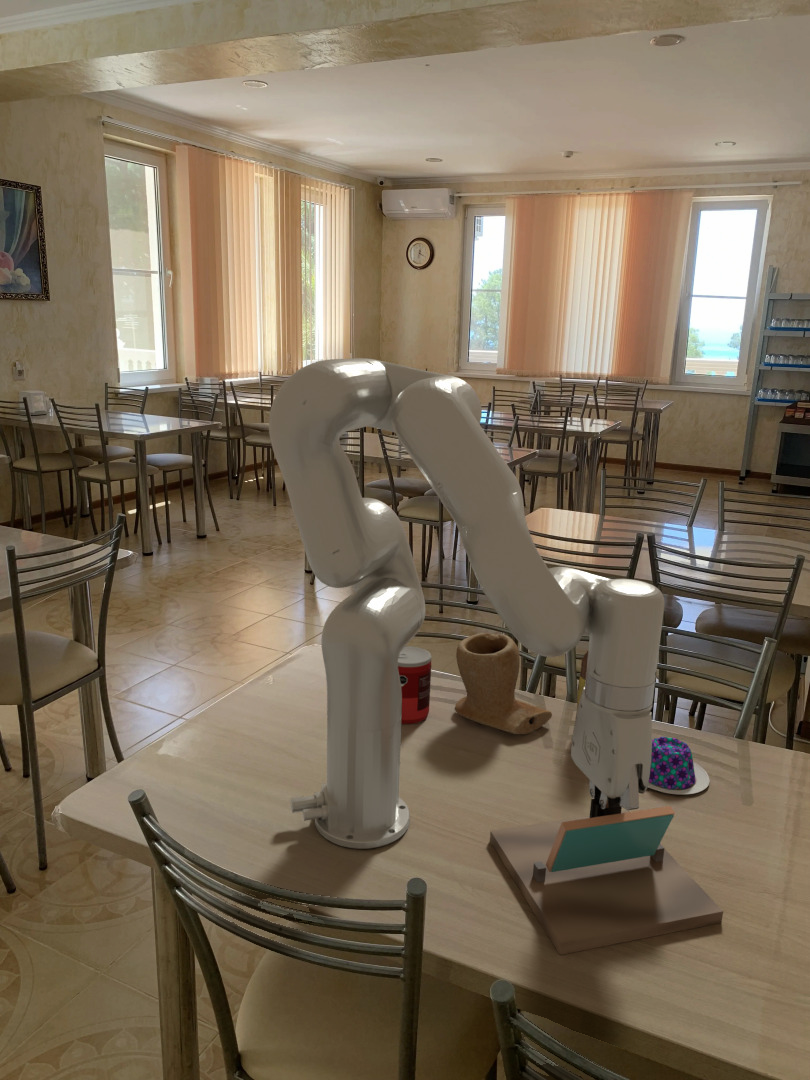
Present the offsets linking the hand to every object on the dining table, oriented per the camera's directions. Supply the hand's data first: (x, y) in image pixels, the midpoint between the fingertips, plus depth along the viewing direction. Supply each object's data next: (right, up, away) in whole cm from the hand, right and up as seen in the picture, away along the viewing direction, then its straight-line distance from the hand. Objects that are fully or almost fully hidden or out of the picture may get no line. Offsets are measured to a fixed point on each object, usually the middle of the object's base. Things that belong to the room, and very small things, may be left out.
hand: (603, 830), depth 95 cm
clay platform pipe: (-8, +4, +40) cm, 41 cm away
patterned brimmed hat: (+16, -1, +25) cm, 30 cm away
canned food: (-24, +5, +41) cm, 48 cm away
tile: (0, 0, -1) cm, 1 cm away
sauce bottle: (+7, +2, +36) cm, 37 cm away
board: (0, -6, +2) cm, 7 cm away
